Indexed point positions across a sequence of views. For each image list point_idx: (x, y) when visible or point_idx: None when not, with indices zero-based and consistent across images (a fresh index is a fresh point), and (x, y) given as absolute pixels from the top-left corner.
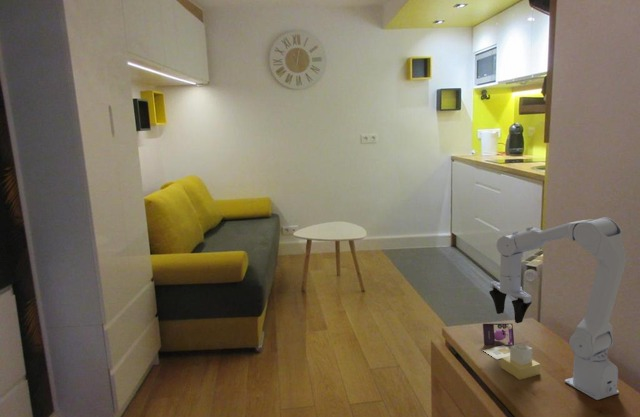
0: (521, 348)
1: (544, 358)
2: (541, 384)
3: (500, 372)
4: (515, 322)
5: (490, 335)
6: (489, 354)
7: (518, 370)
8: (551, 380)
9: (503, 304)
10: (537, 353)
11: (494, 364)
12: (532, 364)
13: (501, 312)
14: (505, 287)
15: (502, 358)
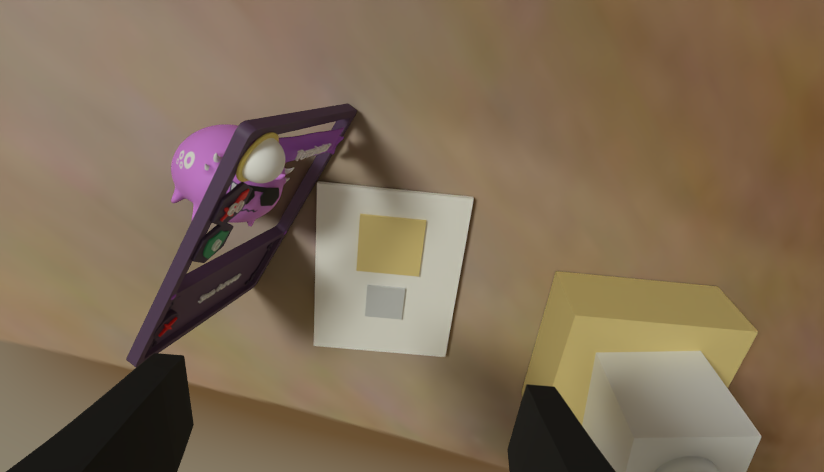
0: None
1: (639, 79)
2: (769, 357)
3: None
4: (511, 450)
5: (226, 275)
6: (376, 349)
7: None
8: (800, 288)
9: (106, 466)
10: (556, 53)
11: (473, 393)
12: (719, 373)
13: (181, 389)
14: None
15: None
